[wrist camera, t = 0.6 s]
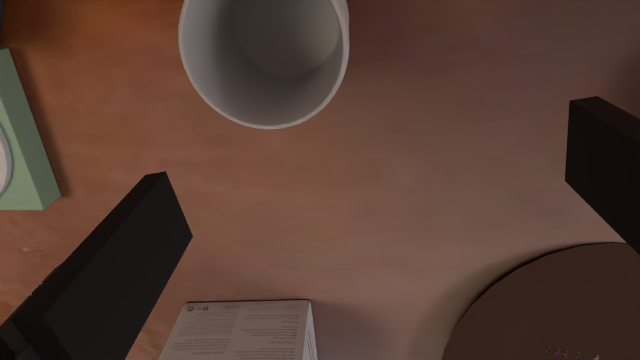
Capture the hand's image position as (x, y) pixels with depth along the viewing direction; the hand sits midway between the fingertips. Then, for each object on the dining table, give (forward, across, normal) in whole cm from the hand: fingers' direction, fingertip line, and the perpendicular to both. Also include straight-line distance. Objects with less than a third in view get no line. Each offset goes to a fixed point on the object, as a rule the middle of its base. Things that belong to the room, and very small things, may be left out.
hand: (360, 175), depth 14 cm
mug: (+19, -2, +4) cm, 20 cm away
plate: (+19, +17, -34) cm, 43 cm away
